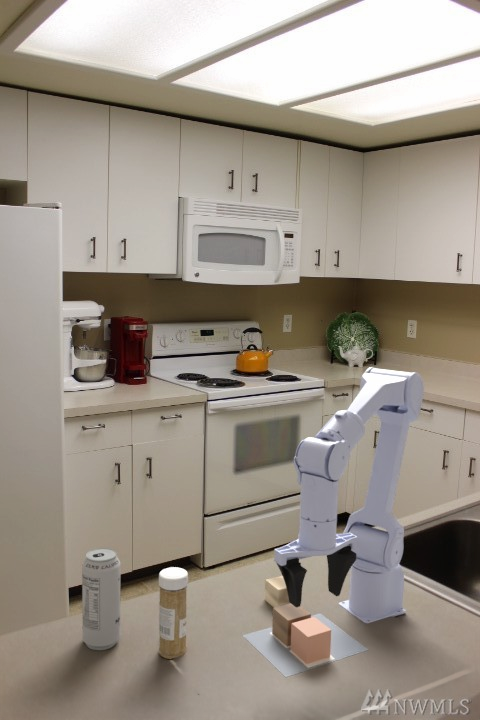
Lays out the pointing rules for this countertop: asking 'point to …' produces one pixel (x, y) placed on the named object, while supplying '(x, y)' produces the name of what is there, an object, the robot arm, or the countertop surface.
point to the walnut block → (287, 621)
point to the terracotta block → (310, 640)
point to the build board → (290, 661)
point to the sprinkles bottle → (172, 612)
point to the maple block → (276, 592)
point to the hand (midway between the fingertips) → (314, 598)
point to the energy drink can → (101, 598)
